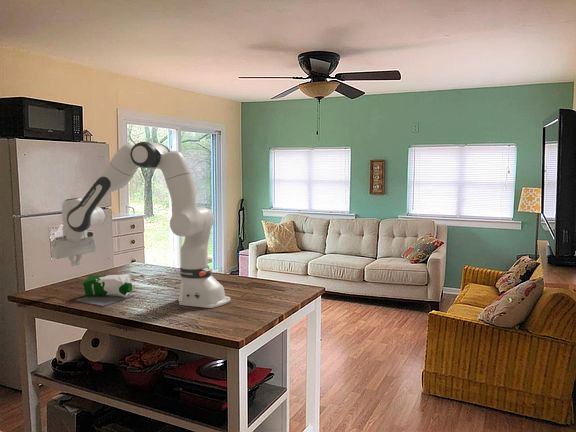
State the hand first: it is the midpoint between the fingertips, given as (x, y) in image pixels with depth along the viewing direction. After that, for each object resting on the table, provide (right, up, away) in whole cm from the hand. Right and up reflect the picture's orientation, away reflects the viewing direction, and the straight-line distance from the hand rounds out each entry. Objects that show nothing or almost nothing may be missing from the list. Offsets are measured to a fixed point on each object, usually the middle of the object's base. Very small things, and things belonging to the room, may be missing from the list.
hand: (75, 265), depth 212 cm
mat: (+16, -14, -7) cm, 22 cm away
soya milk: (+7, -9, -3) cm, 11 cm away
